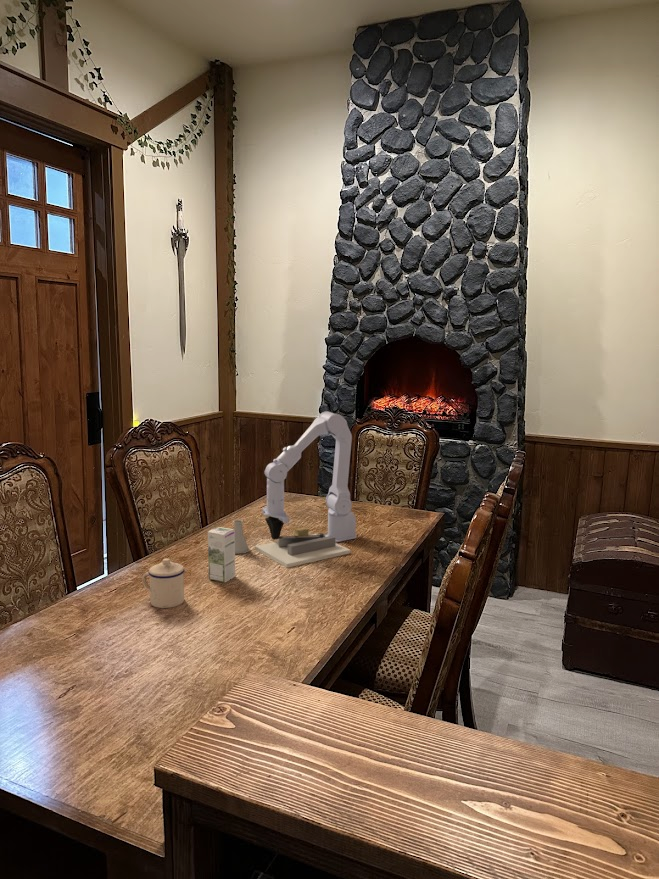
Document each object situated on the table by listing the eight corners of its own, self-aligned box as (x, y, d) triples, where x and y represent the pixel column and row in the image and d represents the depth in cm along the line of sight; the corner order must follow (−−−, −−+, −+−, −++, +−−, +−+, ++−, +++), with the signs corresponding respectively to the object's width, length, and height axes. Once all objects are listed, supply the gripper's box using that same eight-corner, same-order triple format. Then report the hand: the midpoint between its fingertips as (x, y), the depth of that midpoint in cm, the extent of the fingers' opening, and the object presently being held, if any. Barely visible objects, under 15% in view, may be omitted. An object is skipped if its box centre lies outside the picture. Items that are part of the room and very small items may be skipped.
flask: (251, 547, 212) (251, 518, 210) (246, 555, 205) (246, 524, 203) (230, 546, 213) (229, 517, 211) (224, 554, 206) (224, 523, 204)
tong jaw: (324, 543, 214) (324, 532, 213) (325, 545, 211) (325, 534, 211) (278, 545, 211) (278, 534, 210) (279, 547, 209) (279, 536, 208)
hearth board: (315, 537, 224) (315, 525, 223) (350, 553, 208) (350, 540, 207) (254, 549, 210) (254, 537, 209) (286, 567, 194) (286, 554, 193)
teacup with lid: (191, 598, 171) (191, 556, 169) (172, 611, 162) (171, 567, 161) (153, 591, 175) (152, 550, 173) (132, 604, 166) (131, 561, 165)
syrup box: (236, 576, 186) (235, 528, 184) (224, 583, 181) (223, 534, 179) (219, 573, 189) (218, 525, 186) (207, 580, 183) (206, 531, 181)
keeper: (304, 539, 217) (304, 526, 216) (308, 541, 215) (308, 528, 214) (294, 541, 214) (294, 528, 214) (298, 543, 212) (298, 530, 212)
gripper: (254, 496, 216) (254, 535, 218) (276, 505, 204) (276, 546, 206) (272, 493, 220) (272, 531, 222) (294, 502, 208) (294, 542, 210)
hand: (275, 538), depth 215 cm, fingers closed
